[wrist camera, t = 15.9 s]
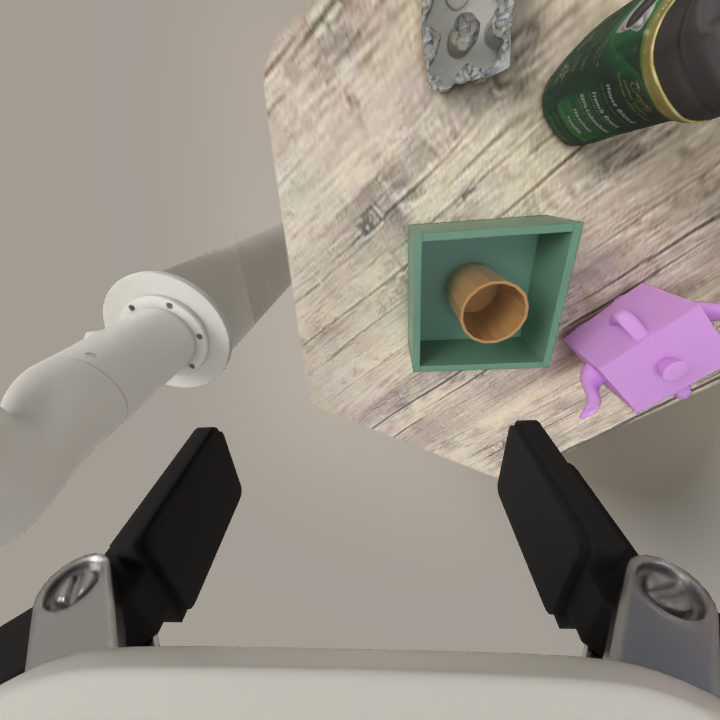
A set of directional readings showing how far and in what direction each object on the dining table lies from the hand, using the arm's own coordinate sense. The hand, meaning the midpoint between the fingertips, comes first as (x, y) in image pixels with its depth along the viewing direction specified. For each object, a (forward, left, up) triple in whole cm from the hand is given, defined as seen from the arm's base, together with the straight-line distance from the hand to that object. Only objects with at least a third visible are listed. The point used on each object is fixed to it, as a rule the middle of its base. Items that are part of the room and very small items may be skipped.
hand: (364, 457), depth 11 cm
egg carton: (+9, +21, -34) cm, 40 cm away
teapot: (+31, -11, -34) cm, 47 cm away
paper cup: (+12, -4, -33) cm, 35 cm away
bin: (+12, -4, -33) cm, 36 cm away
